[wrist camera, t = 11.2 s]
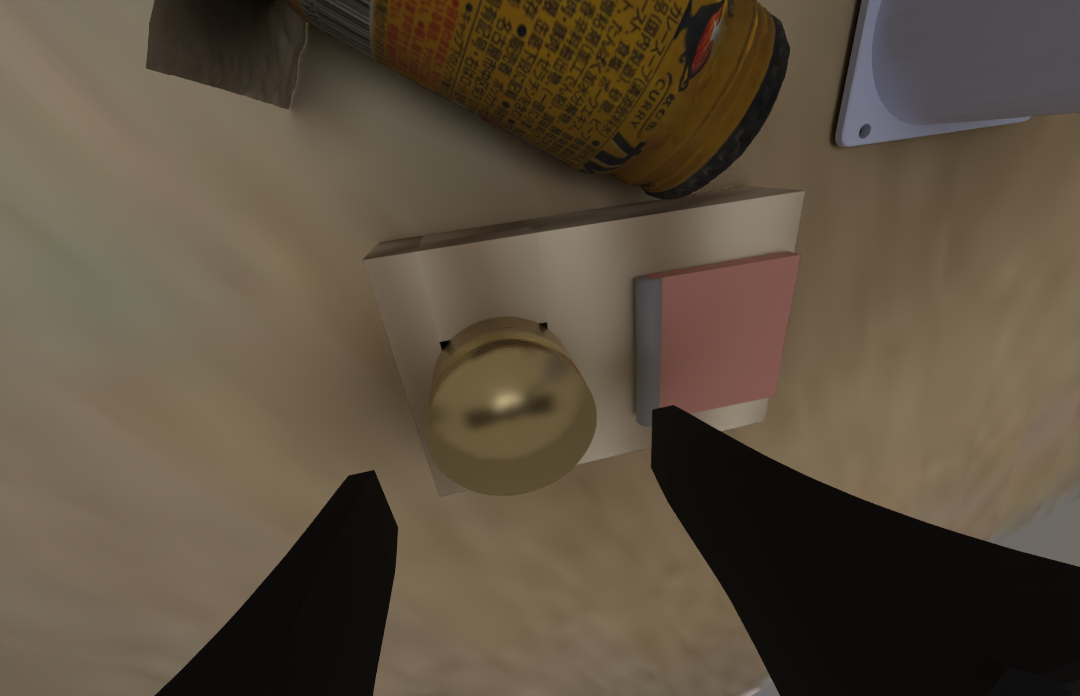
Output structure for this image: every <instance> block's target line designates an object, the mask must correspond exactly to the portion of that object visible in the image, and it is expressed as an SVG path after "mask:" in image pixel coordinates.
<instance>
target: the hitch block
mask: <svg viewBox="0 0 1080 696" xmlns="http://www.w3.org/2000/svg"><path fill="white" fill-rule="evenodd" d="M804 195H805V191H803V190H790V189H777V188H764V187H751V186H746V187H740V188H733V189H727V190H720V191H714V192H707V193H701V194H694V195H687V196H684V197H682V198H679V199H670V200H665V199H661V200H655V201H648V202H642V203H635V204H628V205H622V206H615V207H609V208H602V209H596V210H589V211H583V212H576V213H570V214H563V215H556V216H550V217H543V218H537V219H530V220H524V221H517V222H511V223H504V224H497V225H491V226H484V227H478V228H471V229H465V230H458V231H452V232H445V233H438V234H432V235H425V236H419V237H412V238H406V239H399V240H393V241H386V242H380V243H379V244H378V245H377V246H376V247H375V248H374V249H373V250H372V251H371V252H370V253H369V254H368V255H367V256H366V257H365V258H364V259H363V264H364V267H365V270H366V273H367V276H368V279H369V282H370V285H371V288H372V291H373V294H374V297H375V300H376V303H377V307H378V310H379V313H380V316H381V319H382V322H383V325H384V328H385V331H386V334H387V337H388V340H389V343H390V347H391V350H392V353H393V356H394V359H395V362H396V365H397V368H398V371H399V374H400V377H401V380H402V383H403V386H404V390H405V393H406V396H407V399H408V402H409V405H410V408H411V411H412V414H413V417H414V420H415V423H416V426H417V429H418V433H419V436H420V439H421V442H422V445H423V448H424V451H425V454H426V457H427V460H428V463H429V466H430V469H431V472H432V476H433V479H434V482H435V485H436V488H437V491H438V494H439V497H441V496H445V495H449V494H453V493H458V492H462V491H466V490H469V489H466V488H464V487H462V486H460V485H458V484H457V483H455V482H453V481H452V480H451V479H449V478H448V477H447V476H446V475H445V474H444V473H443V472H442V471H441V470H440V469H439V468H438V466H437V465H436V464H435V462H434V460H433V458H432V456H431V454H430V452H429V448H428V445H427V437H426V429H427V418H428V410H429V401H430V393H431V384H432V375H433V370H434V366H435V363H436V361H437V358H438V356H439V354H440V353H441V351H442V349H443V348H444V347H445V345H446V344H447V343H448V342H449V340H451V339H452V338H453V337H454V336H455V335H456V334H457V333H459V332H460V331H461V330H463V329H464V328H466V327H468V326H470V325H472V324H474V323H476V322H479V321H482V320H485V319H488V318H494V317H506V316H510V317H520V318H524V319H528V320H531V321H534V322H537V323H539V324H541V325H543V326H544V327H546V328H547V329H549V330H550V331H552V332H553V333H554V334H555V335H556V336H557V337H558V338H559V340H560V341H561V342H562V343H563V345H564V347H565V348H566V350H567V352H568V353H569V355H570V357H571V359H572V360H573V362H574V364H575V365H576V367H577V369H578V370H579V372H580V374H581V376H582V377H583V379H584V381H585V382H586V384H587V386H588V388H589V389H590V391H591V393H592V395H593V398H594V401H595V405H596V410H597V423H596V429H595V433H594V437H593V439H592V442H591V444H590V446H589V448H588V450H587V451H586V453H585V454H584V456H583V457H582V458H581V460H580V461H579V462H578V463H577V464H576V465H578V464H582V463H587V462H591V461H595V460H599V459H604V458H608V457H612V456H617V455H621V454H625V453H630V452H634V451H638V450H642V449H647V448H651V447H652V427H645V426H641V425H640V424H638V423H637V421H636V327H635V278H637V277H639V276H642V275H648V274H654V273H660V272H666V271H672V270H678V269H684V268H690V267H696V266H702V265H708V264H714V263H720V262H726V261H732V260H738V259H744V258H750V257H756V256H762V255H768V254H774V253H780V252H786V251H790V252H793V253H794V252H795V246H796V240H797V234H798V229H799V223H800V217H801V212H802V206H803V200H804ZM768 399H769V398H765V399H760V400H755V401H750V402H745V403H740V404H735V405H730V406H726V407H721V408H716V409H711V410H706V411H701V412H696V413H691V415H693V416H695V417H697V418H698V419H700V420H702V421H703V422H705V423H707V424H709V425H710V426H712V427H714V428H716V429H717V430H719V431H724V430H728V429H733V428H737V427H741V426H745V425H750V424H754V423H758V422H763V421H765V416H766V411H767V405H768Z"/></svg>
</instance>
